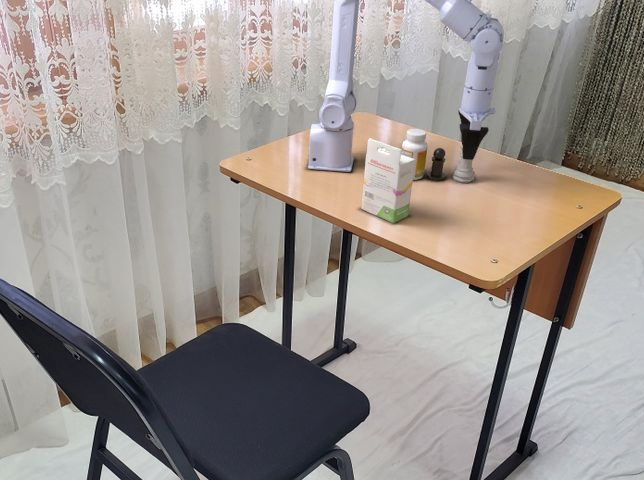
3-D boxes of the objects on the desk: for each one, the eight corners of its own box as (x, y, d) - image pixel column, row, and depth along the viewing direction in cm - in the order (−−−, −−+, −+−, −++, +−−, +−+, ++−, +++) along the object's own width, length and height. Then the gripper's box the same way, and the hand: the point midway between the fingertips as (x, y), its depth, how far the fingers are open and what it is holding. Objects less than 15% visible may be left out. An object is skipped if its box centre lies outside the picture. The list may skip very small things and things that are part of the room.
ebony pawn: (426, 180, 157) (430, 151, 153) (426, 172, 160) (430, 144, 157) (445, 181, 157) (450, 152, 153) (445, 174, 160) (449, 145, 156)
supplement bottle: (422, 170, 161) (428, 127, 156) (424, 181, 157) (430, 137, 151) (397, 170, 162) (402, 126, 156) (399, 180, 158) (404, 136, 152)
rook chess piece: (474, 176, 159) (481, 140, 154) (472, 184, 156) (479, 148, 151) (453, 173, 160) (459, 138, 155) (451, 181, 157) (457, 145, 152)
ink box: (409, 216, 144) (419, 143, 135) (393, 224, 141) (402, 150, 132) (376, 201, 149) (383, 130, 140) (359, 209, 146) (366, 137, 138)
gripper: (502, 99, 140) (488, 166, 148) (497, 76, 151) (485, 140, 159) (464, 97, 141) (453, 164, 149) (462, 74, 152) (451, 138, 160)
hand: (467, 151), depth 154 cm, fingers open, 7 cm apart
